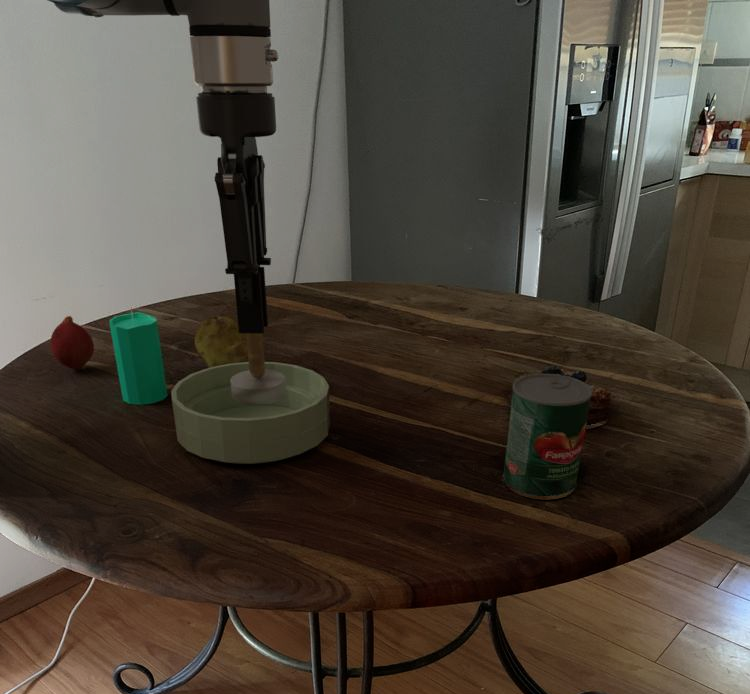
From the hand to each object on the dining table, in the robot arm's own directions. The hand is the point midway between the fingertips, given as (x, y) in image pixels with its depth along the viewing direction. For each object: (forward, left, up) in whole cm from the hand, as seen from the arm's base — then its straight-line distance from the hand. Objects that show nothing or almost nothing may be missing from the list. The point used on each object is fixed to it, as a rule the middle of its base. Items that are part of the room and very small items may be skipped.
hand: (253, 328), depth 83 cm
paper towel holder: (0, 0, -8) cm, 8 cm away
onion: (-31, +20, -13) cm, 39 cm away
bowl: (-1, 0, -13) cm, 13 cm away
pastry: (+37, +9, -13) cm, 40 cm away
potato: (-8, +19, -13) cm, 25 cm away
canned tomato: (+32, -10, -13) cm, 36 cm away
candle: (-18, +11, -13) cm, 25 cm away
